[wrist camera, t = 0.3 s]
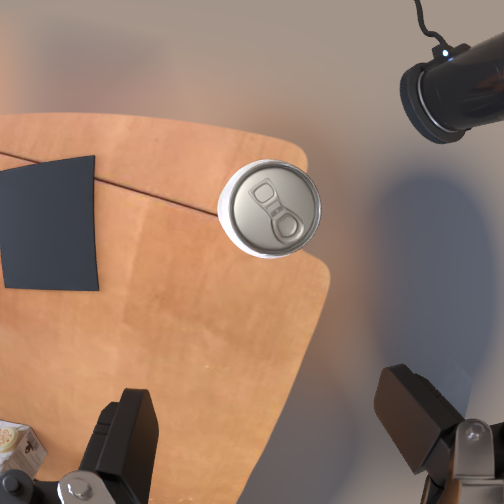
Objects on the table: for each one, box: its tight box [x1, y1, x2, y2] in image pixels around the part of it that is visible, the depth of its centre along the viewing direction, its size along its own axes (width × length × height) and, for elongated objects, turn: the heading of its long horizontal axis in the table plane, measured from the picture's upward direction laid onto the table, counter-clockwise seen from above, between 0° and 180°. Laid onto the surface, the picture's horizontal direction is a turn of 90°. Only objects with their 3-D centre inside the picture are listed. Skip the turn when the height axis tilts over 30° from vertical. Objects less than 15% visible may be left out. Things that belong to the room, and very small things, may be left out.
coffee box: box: [0, 420, 47, 480], centre depth 21 cm, size 9×6×16 cm
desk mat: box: [0, 155, 99, 291], centre depth 26 cm, size 14×14×1 cm
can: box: [217, 159, 321, 259], centre depth 23 cm, size 6×6×12 cm
